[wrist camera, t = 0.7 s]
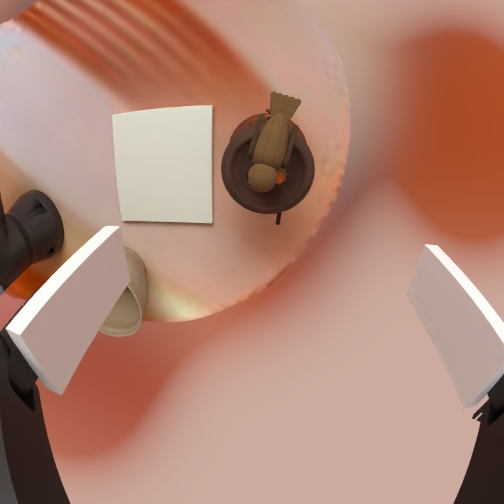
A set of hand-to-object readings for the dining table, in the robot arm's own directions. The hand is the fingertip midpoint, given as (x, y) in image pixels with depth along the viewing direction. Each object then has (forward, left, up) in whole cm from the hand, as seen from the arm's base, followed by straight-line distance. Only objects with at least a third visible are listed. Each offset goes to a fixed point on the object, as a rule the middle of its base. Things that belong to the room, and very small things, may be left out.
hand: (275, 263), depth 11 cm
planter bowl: (-26, -21, -30) cm, 45 cm away
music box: (0, 0, -30) cm, 30 cm away
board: (-16, -2, -30) cm, 34 cm away
